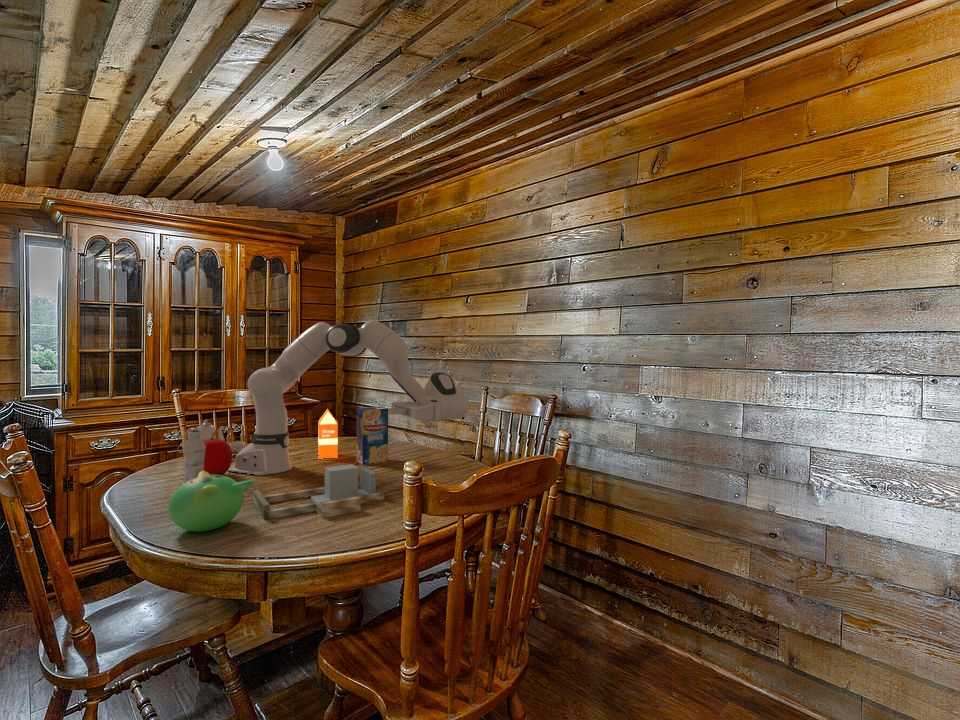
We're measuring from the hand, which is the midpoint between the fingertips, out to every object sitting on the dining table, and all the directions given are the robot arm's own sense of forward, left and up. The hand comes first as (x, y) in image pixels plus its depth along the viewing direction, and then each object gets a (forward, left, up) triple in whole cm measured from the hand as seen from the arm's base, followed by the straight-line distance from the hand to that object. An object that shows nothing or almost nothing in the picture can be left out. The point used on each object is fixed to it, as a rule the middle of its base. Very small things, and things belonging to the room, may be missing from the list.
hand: (390, 411), depth 173 cm
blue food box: (-18, +38, -27) cm, 50 cm away
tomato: (-67, +7, -27) cm, 73 cm away
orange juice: (-39, +43, -27) cm, 64 cm away
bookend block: (-12, -10, -27) cm, 31 cm away
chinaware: (-86, +33, -27) cm, 96 cm away
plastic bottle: (-60, -13, -27) cm, 67 cm away
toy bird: (-37, -41, -27) cm, 61 cm away
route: (-15, -17, -27) cm, 35 cm away
